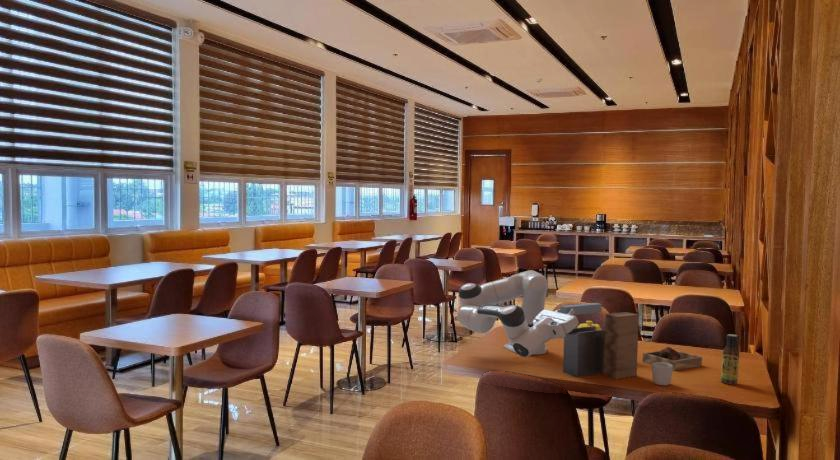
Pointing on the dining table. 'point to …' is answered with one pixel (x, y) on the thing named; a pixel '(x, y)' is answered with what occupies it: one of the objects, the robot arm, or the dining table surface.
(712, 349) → the dining table surface
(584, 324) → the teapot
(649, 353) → the caddy
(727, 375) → the sauce bottle
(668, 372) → the cup
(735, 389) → the dining table surface
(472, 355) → the dining table surface
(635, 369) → the post
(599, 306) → the rail
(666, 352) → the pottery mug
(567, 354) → the dark gray box
